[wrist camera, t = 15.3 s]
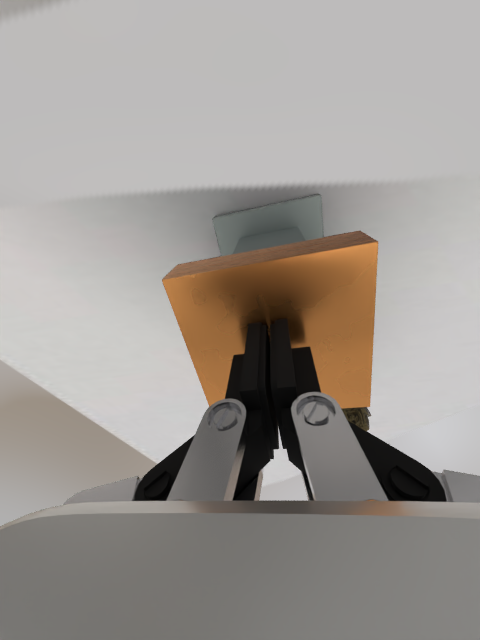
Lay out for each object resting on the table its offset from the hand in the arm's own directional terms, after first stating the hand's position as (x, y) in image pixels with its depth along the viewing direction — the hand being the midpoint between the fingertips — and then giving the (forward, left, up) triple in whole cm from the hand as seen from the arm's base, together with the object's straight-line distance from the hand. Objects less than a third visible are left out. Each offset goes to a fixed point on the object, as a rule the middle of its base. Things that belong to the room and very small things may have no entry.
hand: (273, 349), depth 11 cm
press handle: (0, 0, -12) cm, 12 cm away
